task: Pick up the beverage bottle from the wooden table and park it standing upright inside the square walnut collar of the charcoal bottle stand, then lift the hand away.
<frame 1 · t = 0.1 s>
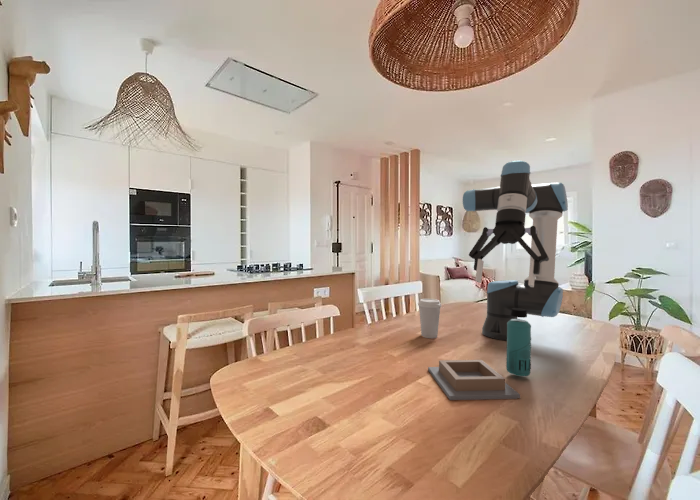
hand: (503, 284, 86), 28 cm above the table, tool tilted 20°, fingers open, 13 cm apart
bottle stand: (469, 383, 87), on the table
beverage bottle: (517, 377, 91), on the table
coffee cup: (429, 336, 131), on the table
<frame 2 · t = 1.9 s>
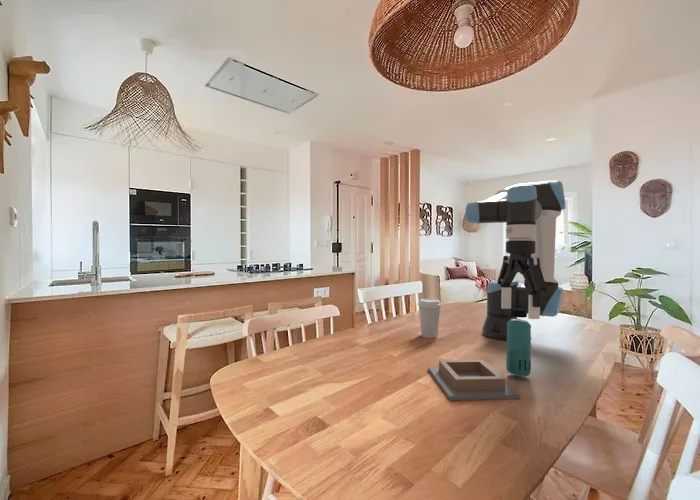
hand: (518, 313, 91), 19 cm above the table, tool pointing down, fingers open, 13 cm apart
nothing on the table moved.
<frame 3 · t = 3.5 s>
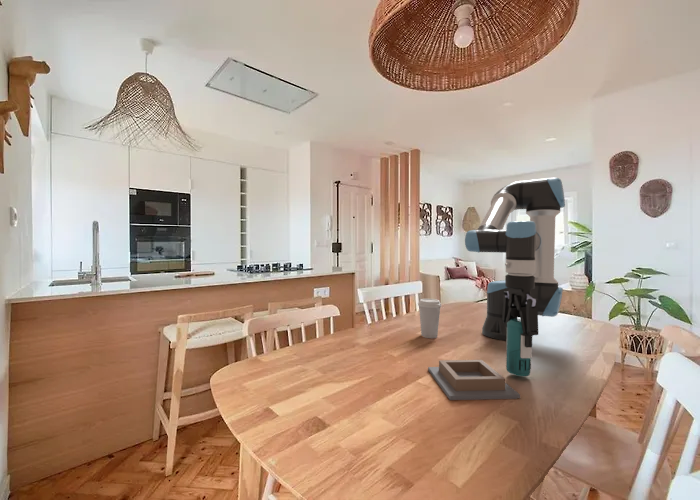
hand: (518, 353, 91), 7 cm above the table, tool pointing down, fingers closed on beverage bottle, 6 cm apart
beverage bottle: (517, 377, 91), on the table, touching gripper
everything else where it was.
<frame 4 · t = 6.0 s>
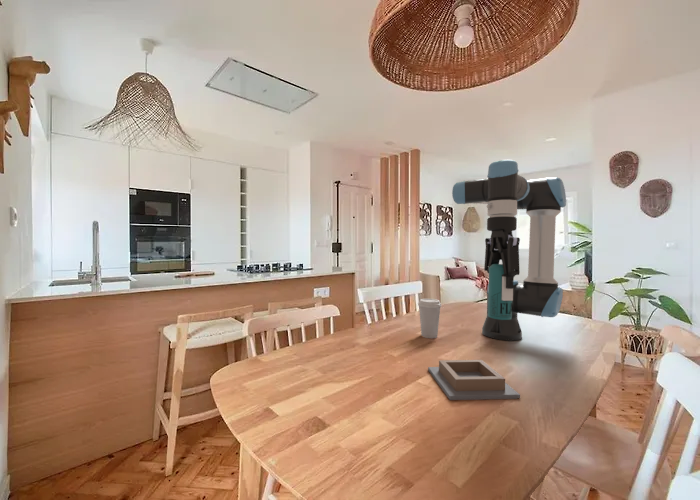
hand: (500, 297, 89), 23 cm above the table, tool pointing down, fingers closed on beverage bottle, 6 cm apart
beverage bottle: (499, 323, 89), point 16 cm above the table, touching gripper
everything else where it was.
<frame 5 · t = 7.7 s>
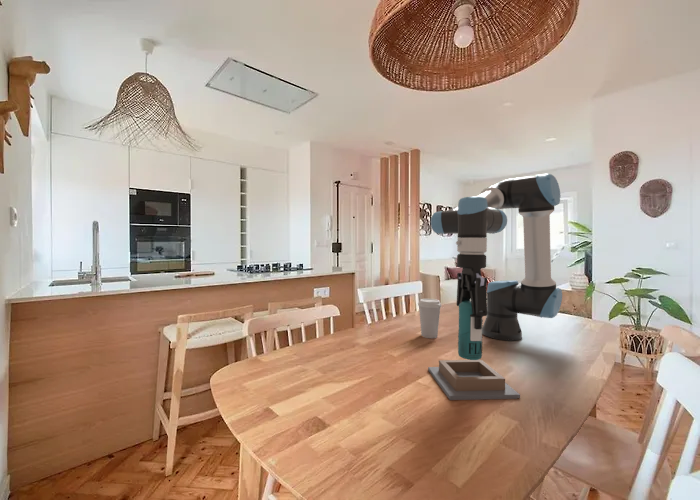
hand: (470, 336, 87), 13 cm above the table, tool pointing down, fingers closed on beverage bottle, 6 cm apart
beverage bottle: (469, 361, 87), point 6 cm above the table, touching gripper
everything else where it was.
when the fingers open (9 cm above the table, at t = 8.8 s): beverage bottle drops 1 cm, resting on bottle stand.
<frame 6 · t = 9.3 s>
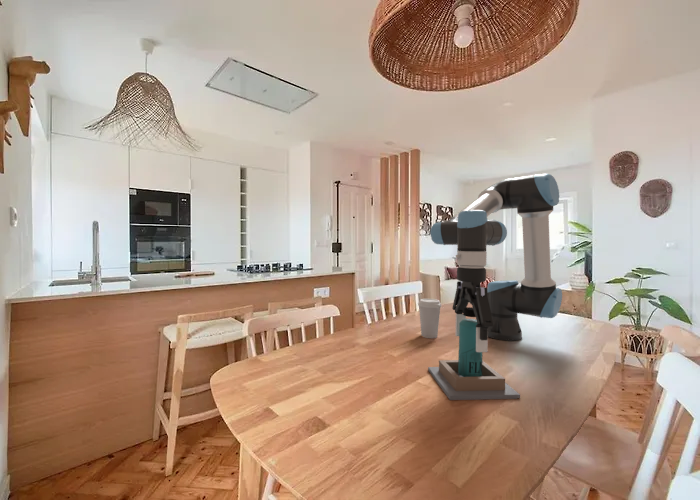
hand: (470, 343, 87), 11 cm above the table, tool pointing down, fingers open, 13 cm apart
beverage bottle: (469, 380, 87), point 1 cm above the table, touching bottle stand
everything else where it was.
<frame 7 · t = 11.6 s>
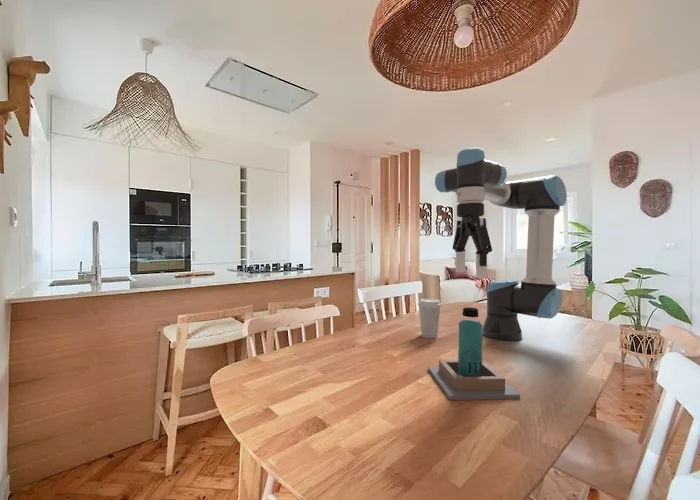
hand: (470, 275, 93), 30 cm above the table, tool pointing down, fingers open, 13 cm apart
nothing on the table moved.
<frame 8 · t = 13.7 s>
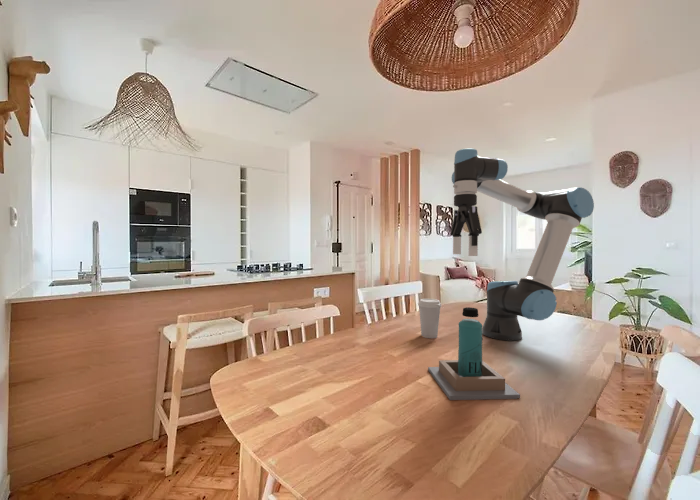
hand: (464, 255, 110), 35 cm above the table, tool pointing down, fingers open, 13 cm apart
nothing on the table moved.
at the end: beverage bottle 0.0 cm off-centre on the bottle stand, point 0.8 cm above the bottle stand's base; beverage bottle tilted 0°; the gripper is holding nothing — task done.
